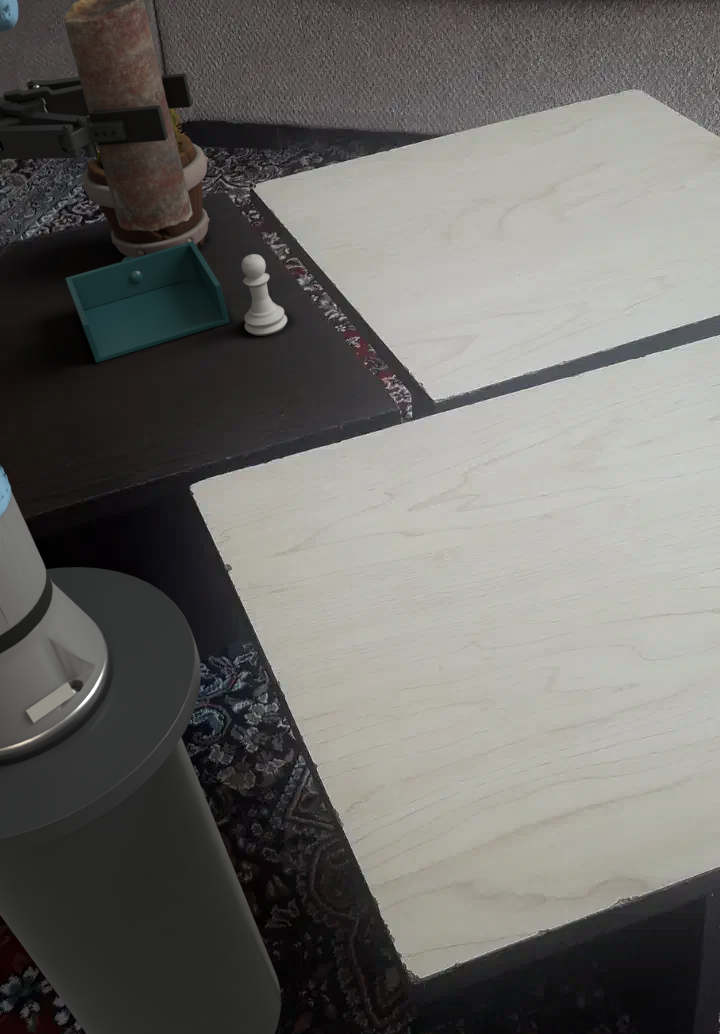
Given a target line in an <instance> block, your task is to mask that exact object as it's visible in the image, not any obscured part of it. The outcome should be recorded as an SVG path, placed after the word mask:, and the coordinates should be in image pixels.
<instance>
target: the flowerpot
mask: <svg viewBox="0 0 720 1034" xmlns="http://www.w3.org/2000/svg"><path fill="white" fill-rule="evenodd" d="M176 109H177V110H176ZM180 111H181V110H180V109H179V108H172V109H169V113H170V117H171V121H172V125H173V130H174V134H175V139H176V143H177V147H178V152H179V156H180V160H181V164H182V168H183V172H184V176H185V181H186V186H187V190H188V194H189V199H190V203H191V208H192V213H193V215H192V216H191V217H190V218H189V220H188V221H185V222H181V223H178V224H177V225H174V226H171V227H167V228H163V229H160V230H157V231H143V230H125V229H123V228H121V227H120V225H119V223H118V220H117V216H116V212H115V209H114V205H113V201H112V198H111V194H110V190H109V187H108V183H107V179H106V176H105V173H104V168H103V164H102V160H101V156H100V152H99V149H98V147H96V149H97V152H98V155H97V156H96V158H93V159H92V158H91V159H90V160H88V161H87V163H86V167H87V171H85V172H84V173H83V174H82V185H81V190H83V191H85V193H86V195H87V197H88V199H90V201H92V202H93V203H95V204H97V205H98V206H99V208H100V210H101V212H102V214H103V215H104V218H105V219H106V222H107V223H108V225H109V227H110V228H111V233H110V237H111V243H112V245H114V246H115V247H116V249H117V250H118V251H119V252H120V253H121V254H122V255H124V256H125V257H133V258H137V257H140V256H144V255H147V254H150V253H154V252H157V251H161V250H164V249H168V248H171V247H175V246H178V245H182V244H185V243H188V242H192V241H193V242H194V243H195V245H196V246H197V248H198V249H199V247H200V246H202V245H203V244H204V241H205V237H206V235H207V233H208V230H209V229H208V228H209V223H210V218H209V216H208V213H207V211H206V210H205V209H204V208H203V195H204V194H203V180H204V178H205V177H206V174H207V172H208V161H209V157H208V156H206V155H205V152H204V151H203V150H202V148H201V147H200V146H198V145H197V144H195V143H193V142H192V140H191V138H190V137H188V135H186V134H187V132H185V131H184V132H183V133H181V132H182V131H183V130H182V129H183V128H182V125H183V123H182V120H183V119H181V118H182V116H181V115H180ZM179 124H180V125H179ZM179 128H180V129H179ZM185 133H186V134H185Z"/></svg>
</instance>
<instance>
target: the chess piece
mask: <svg viewBox="0 0 720 1034" xmlns="http://www.w3.org/2000/svg"><path fill="white" fill-rule="evenodd" d="M266 269H267V264H266V261H265V259H264V258H263V256H261V255H260V254H257V253H252V254H248V255H246V256H245V257H244V258H243V259H242V261H241V270H242V273H243V274H244V275H245V277H244V278H243V280H242V282H243V284H245V285H246V286H247V287H248V289H249V292H250V296H251V305H250V308H249V310H248V311H247V312H246V313H245V314H244V316H243V320H244V322H245V323H244V329H245V330H246V331H247V332H248V333H249V334H250V335H253V336H258V337H261V336H263V337H264V336H269V335H270V336H271V335H273V334H276V333H278V332H280V331H281V330H283V329H284V328H285V327H286V324H287V322H288V317H287V315H286V314H285V309H284V308H283V307H282V306H280V305H278V304H276V302H274V301H273V300H272V298H271V297H270V294H269V289H268V284H267V283H268V281H269V280H270V278H271V277H270V275H269V273H267V272H266Z"/></svg>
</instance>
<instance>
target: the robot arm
mask: <svg viewBox="0 0 720 1034" xmlns="http://www.w3.org/2000/svg"><path fill="white" fill-rule="evenodd" d="M18 20H19V4H18V0H0V33H2V32H6V31H10V30H12V29H13V28H14V27H15V26H16V24H17V23H18ZM161 78H162V83H163V87H164V91H165V96H166V101H167V105H168V108H169V109H172V108H174V109H183V108H184V109H185V108H191V107H192V106H193V105H194V104H193V99H192V94H191V90H190V85H189V81H188V77H187V73H185V72H184V73H176V74H175V73H172V74H162V75H161ZM25 85H26V88H27V89H26V90H22V89H20V88H15V89H12V90H7V91H4V92H3V93H2V96H0V161H3V160H30V159H32V160H33V159H36V160H37V159H39V160H41V159H76V158H80V156H82V151H81V150H83V151H84V153H85V156H86V158H87V159H92V158H95V157H97V155H98V152H97V151H98V150H97V146H98V145H112V144H125V143H138V142H152V141H165V140H166V139H167V138H168V134H167V130H166V126H165V122H164V118H163V114H162V110H161V107H160V105H158V106H146V107H134V108H122V109H110V110H98V111H91V113H90V114H89V111H88V108H87V104H86V101H85V97H84V93H83V89H82V86H81V82H80V78H79V75H78V76H72V77H64V78H56V79H37V80H36V79H35V80H34V79H32V80H31V79H30V80H29V81H27V82H26V84H25ZM88 117H89V119H90V121H88V120H89V119H88ZM97 143H98V145H97V146H96V144H97ZM112 676H113V660H112V655H111V652H110V649H109V647H108V645H107V643H106V640H105V638H104V636H103V633H102V632H101V630H100V628H99V627H98V625H97V624H96V623H95V622H94V621H93V620H92V619H91V618H90V617H89V616H88V615H87V614H86V613H85V612H84V611H82V610H81V609H80V608H79V607H78V606H77V605H76V604H75V603H74V602H73V601H72V600H71V599H70V598H69V597H68V596H66V595H65V594H64V593H63V592H62V591H61V590H60V589H59V588H58V587H57V586H56V585H55V584H54V583H53V582H52V581H51V578H50V576H49V574H48V572H47V568H46V565H45V563H44V561H43V558H42V557H41V555H40V552H39V550H38V548H37V546H36V543H35V540H34V538H33V536H32V534H31V532H30V530H29V527H28V525H27V523H26V520H25V519H24V516H23V514H22V512H21V510H20V507H19V505H18V503H17V500H16V497H15V496H14V494H13V492H12V486H11V484H10V481H9V479H8V475H7V474H6V473H5V470H4V467H2V466H1V465H0V766H5V765H10V764H14V763H18V762H21V761H24V760H27V759H30V758H32V757H35V756H37V755H40V754H42V753H44V752H46V751H48V750H50V749H52V748H53V747H55V746H57V745H59V744H60V743H62V742H63V741H65V740H66V739H68V738H69V737H70V736H72V735H73V734H74V733H75V732H77V731H78V730H79V729H80V728H81V727H82V726H83V725H84V724H85V723H86V722H87V721H88V720H89V719H90V718H91V717H92V716H93V715H94V713H95V712H96V711H97V709H98V708H99V707H100V705H101V704H102V702H103V700H104V698H105V697H106V694H107V692H108V690H109V687H110V684H111V681H112Z"/></svg>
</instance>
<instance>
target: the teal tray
mask: <svg viewBox="0 0 720 1034" xmlns="http://www.w3.org/2000/svg"><path fill="white" fill-rule="evenodd" d="M65 282H66V284H67V287H68V290H69V292H70V296H71V299H72V302H73V304H74V307H75V310H76V313H77V315H78V318H79V321H80V323H81V326H82V330H83V332H84V334H85V336H86V340H87V342H88V345H89V347H90V350H91V354H92V356H93V359H94V360H95V363H96V364H97V363H102V362H104V361H107V360H112V359H114V358H117V357H120V356H124V355H128V354H131V353H134V352H138V351H140V350H143V349H146V348H151V347H154V346H156V345H160V344H164V343H167V342H170V341H174V340H178V339H179V338H184V337H187V336H190V335H194V334H197V333H200V332H203V331H206V330H210V329H213V328H216V327H219V326H223V325H227V324H230V319H229V314H228V310H227V306H226V302H225V297H224V294H223V290H222V285H221V283H220V282H219V280H218V279H217V277H216V275H215V274H214V272H213V271H212V269H211V267H210V265H209V264H208V262H207V261H206V259H205V257H204V255H202V253H201V251H200V249H199V247H198V248H197V246H196V245H195V243H194V242H193V241H192V242H188V243H185V244H182V245H178V246H175V247H171V248H168V249H164V250H161V251H157V252H154V253H150V254H147V255H144V256H140V257H137V258H133V257H127V256H125V257H124V258H123V259H122V260H121V261H120V262H116V263H112V264H110V265H105V266H102V267H98V268H96V269H92V270H88V271H85V272H82V273H78V274H75V275H70V276H69V277H65Z"/></svg>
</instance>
